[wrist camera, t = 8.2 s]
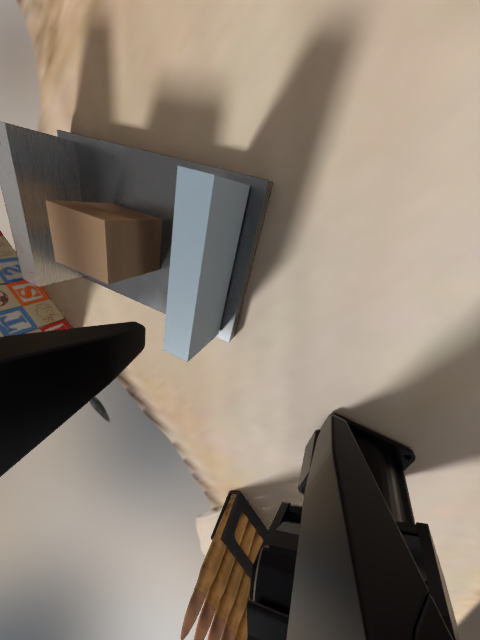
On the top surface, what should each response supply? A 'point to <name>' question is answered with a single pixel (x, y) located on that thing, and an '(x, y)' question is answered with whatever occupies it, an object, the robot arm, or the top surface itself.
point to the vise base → (110, 187)
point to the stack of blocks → (23, 300)
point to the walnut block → (104, 239)
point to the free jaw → (201, 258)
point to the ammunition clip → (226, 574)
